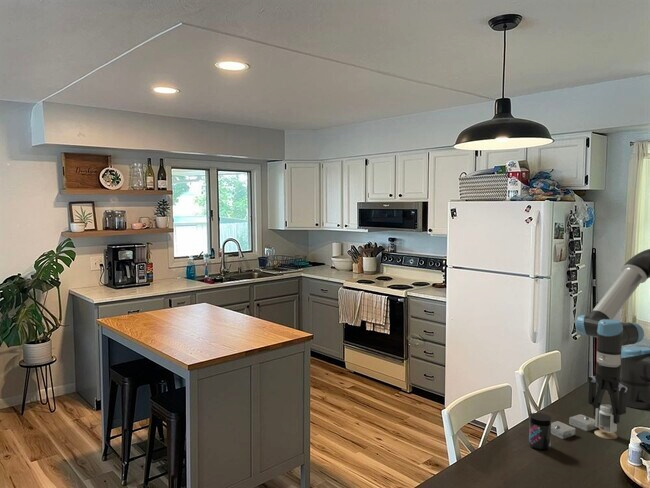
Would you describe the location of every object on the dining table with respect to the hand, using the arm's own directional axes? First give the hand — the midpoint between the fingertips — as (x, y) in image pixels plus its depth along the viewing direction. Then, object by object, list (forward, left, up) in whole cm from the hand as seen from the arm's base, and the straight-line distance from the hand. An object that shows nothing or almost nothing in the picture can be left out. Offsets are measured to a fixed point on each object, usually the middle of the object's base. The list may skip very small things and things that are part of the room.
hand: (605, 428), depth 175 cm
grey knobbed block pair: (+6, -8, -2) cm, 11 cm away
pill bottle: (0, 0, -1) cm, 1 cm away
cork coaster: (0, 0, -2) cm, 2 cm away
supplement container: (+28, -5, -3) cm, 29 cm away
